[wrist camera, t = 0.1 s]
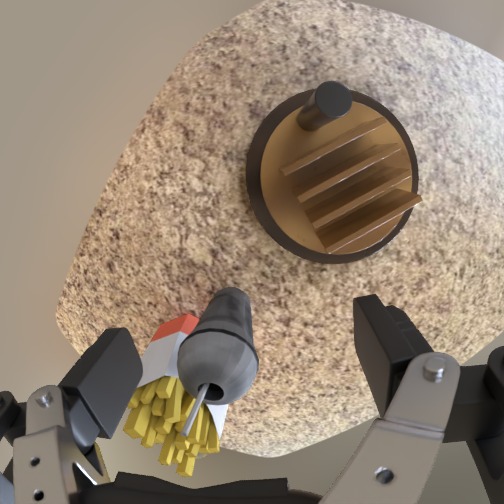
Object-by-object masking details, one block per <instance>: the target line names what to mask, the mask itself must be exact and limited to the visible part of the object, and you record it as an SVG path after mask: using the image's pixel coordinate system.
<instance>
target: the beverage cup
mask: <svg viewBox="0 0 504 504" xmlns="http://www.w3.org/2000/svg"><path fill="white" fill-rule="evenodd" d="M258 367H259V359H258V356H257V353H256V350H255V346H254V344H253V330H252V316H251V307H250V301H249V298H248V296H247V295H246V294H245V293H244V292H243V291H241V290H240V289H237V288H232V287H228V288H224V289H221V290H220V291H218V292H217V293H216V295H215V296H214V298H213V299H212V300H211V302H210V303H209V305H208V307H207V308H206V310H205V312H204V313H203V315H202V317H201V318H200V320H199V322H198V323H197V325H196V327H195V328H194V329H193V331H192V332H191V333H190V334H189V335H188V336H187V337H186V338H185V339H184V340H183V342H182V343H181V344H180V347H179V351H178V359H177V369H178V376H179V379H180V381H181V383H182V385H183V387H184V389H185V390H186V391H187V392H188V393H189V394H190V395H191V396H192V397H193V398H195V399H196V400H195V403H194V405H193V407H192V409H191V411H190V414H189V416H188V418H187V420H186V422H185V425H184V427H183V429H182V431H181V435H182V436H185V437H186V436H187V435H188V433H189V431H190V429H191V426H192V424H193V422H194V419H195V417H196V415H197V412H198V410H199V408H200V405H201V403H202V402H203V403H206V404H209V405H226V404H229V403H231V402H234V401H236V400H238V399H239V398H241V397H242V396H243V395H244V394H245V393H246V392H247V391H248V390H249V389H250V387H251V385H252V383H253V381H254V379H255V377H256V374H257V372H258Z"/></svg>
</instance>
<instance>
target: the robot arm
mask: <svg viewBox="0 0 504 504" xmlns="http://www.w3.org/2000/svg"><path fill="white" fill-rule="evenodd" d="M353 317H354V342H355V349H356V353H357V356H358V358H359V361H360V364H361V366H362V369H363V371H364V374H365V376H366V379H367V382H368V384H369V387H370V389H371V392H372V395H373V398H374V400H375V403H376V406H377V408H378V411H379V414H380V417H381V418H377V419H375V420H374V422H373V423H372V425H371V426H370V428H369V430H368V431H367V433H366V435H365V437H364V438H363V440H362V441H361V443H360V444H359V446H358V448H357V449H356V451H355V452H354V454H353V455H352V457H351V458H350V460H349V461H348V463H347V464H346V466H345V467H344V469H343V470H342V472H341V473H340V475H339V476H338V477H337V479H336V480H335V482H334V483H333V484H332V486H331V487H330V488H329V490H328V491H327V492H326V494H325V495H324V496H321V495H318V494H314V493H311V492H307V491H302V490H295V489H290V488H289V484H288V480H287V478H277V479H263V480H240V481H236V482H231V483H226V484H221V485H216V486H211V487H204V488H198V489H191V488H187V487H183V486H180V485H177V484H174V483H170V482H168V481H165V480H162V479H159V478H156V477H153V476H146V475H138V474H131V473H125V472H118V474H117V476H116V478H115V481H114V482H111V481H110V478H109V476H108V473H107V470H106V467H105V464H104V461H103V458H102V455H101V452H100V448H99V446H98V445H97V443H96V442H95V440H96V438H97V437H100V438H106V439H111V438H112V436H113V434H114V432H115V430H116V427H117V426H118V424H119V421H120V419H121V418H122V415H123V413H124V412H125V410H126V408H127V406H128V404H129V402H130V400H131V398H132V396H133V394H134V392H135V390H136V388H137V386H138V384H139V382H140V380H141V378H142V376H143V365H142V361H141V359H140V356H139V354H138V352H137V349H136V347H135V345H134V342H133V340H132V337H131V335H130V332H129V331H128V329H126V328H124V327H123V328H109V329H106V330H105V331H104V332H103V333H102V335H101V336H100V337H99V338H98V339H97V341H96V342H95V343H94V344H93V345H92V346H91V347H89V348H88V349H87V350H86V351H85V352H84V353H83V355H82V356H81V359H79V360H78V361H77V362H76V363H75V365H74V366H73V367H72V368H71V370H70V371H69V372H68V373H67V374H66V376H65V377H64V378H63V380H62V381H61V382H60V383H59V385H58V386H55V385H47V386H44V387H41V388H39V389H37V390H36V391H35V392H34V393H32V394H31V396H30V397H29V398H28V401H27V402H24V403H17V401H16V400H15V398H14V396H13V395H12V394H11V392H9V391H2V392H0V441H1V439H2V437H3V436H4V437H5V438H6V439H7V441H8V442H9V443H10V444H11V446H12V447H13V457H12V459H11V461H10V462H9V464H8V466H7V467H6V469H5V471H4V473H3V474H2V473H1V472H0V504H417V502H418V500H419V498H420V496H421V494H422V492H423V489H424V487H425V485H426V482H427V480H428V478H429V475H430V473H431V471H432V468H433V466H434V463H435V460H436V458H437V455H438V452H439V449H440V447H441V444H442V443H448V442H458V441H466V443H467V445H468V447H469V450H470V452H471V454H472V456H473V459H474V461H475V464H476V466H477V468H478V471H479V473H480V476H481V479H482V481H483V484H484V487H485V489H486V492H487V495H488V497H489V500H490V503H491V504H504V346H501V347H498V348H496V349H495V350H493V351H492V352H491V354H490V355H489V358H488V362H487V364H485V365H475V366H460V365H459V363H458V362H457V360H456V359H454V358H453V357H452V356H450V355H448V354H445V353H440V352H434V351H433V349H432V348H431V346H430V345H429V344H428V342H427V341H426V340H425V338H424V337H423V336H422V334H421V333H420V332H419V330H418V329H416V326H415V325H414V324H413V322H411V320H410V318H409V317H408V316H407V315H406V313H405V312H404V311H403V310H401V309H399V308H397V307H395V306H393V305H391V306H386V307H385V306H384V305H383V303H382V302H381V300H380V299H379V298H378V296H377V295H376V294H372V295H367V296H362V297H357V298H354V299H353Z"/></svg>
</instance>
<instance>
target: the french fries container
mask: <svg viewBox="0 0 504 504" xmlns="http://www.w3.org/2000/svg"><path fill="white" fill-rule="evenodd" d="M199 320H200V319H198V318H196V317H194V316H193V315H191V314H189V313H188V314H186V315H183V316H181V317H178V318H176V319H173V320H171V321H169V322H166V323H164V324H161V325H160V327H159V328H158V330H157V332H156V333H155V335H154V337H153V338H152V340H151V342H150V344H149V345H148V347H147V349H146V350H145V352H144V354H143V356H142V357H141V361H142V365H143V376H142V378H141V380H140V382H139V384H138V386H137V388H136V390H135V392H134V394H133V396H132V398H131V400H130V402H129V404H128V406H127V407H128V408H132V410H131V412H130V414H129V417H128V419H127V421H126V424H125V426H124V428H123V431H124V432H125V433H127V434H128V435H129V436H130V437H131V438H142V441H141V445H142V446H144V447H146V448H151V447H153V443H154V442H155V443H157V444H158V443H162V442H164V443H163V446H162V450H161V453H160V456H159V460H158V461H159V462H160V463H161V464H162V465H170V463H171V461H172V462H173V463H178V467H177V471H176V473H178V474H179V475H181V476H182V477H190V476H192V472H193V467H194V462H195V459H198V458H204V457H205V456H206V455H207V454H208V453H216V452H219V441H220V438H221V434H222V430H223V425H224V421H225V417H226V413H227V408H228V404H226V405H209V404H206V403H203V402H202V403H201V405H200V408H199V410H198V412H197V415H196V417H195V419H194V422H193V424H192V426H191V429H190V431H189V433H188V435H187V436H186V437H185V436H182V435H181V431H182V429H183V427H184V425H185V422H186V420H187V418H188V416H189V414H190V411H191V409H192V407H193V405H194V403H195V400H196V399H195V398H193V397H192V396H191V395H190V394H189V393H188V392H187V391H186V390H185V389H184V387H183V385H182V383H181V381H180V379H179V376H178V369H177V359H178V351H179V347H180V344H181V343H182V342H183V340H184V339H185V338H186V337H187V336H188V335H189V334H190V333H191V332H192V331H193V329H194V328H195V327H196V325H197V323H198V322H199Z"/></svg>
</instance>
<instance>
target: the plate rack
mask: <svg viewBox="0 0 504 504" xmlns="http://www.w3.org/2000/svg"><path fill="white" fill-rule="evenodd" d="M260 177H261V188H262V193H263V197H264V200H265V203H266V206H267V208H268V210H269V212H270V214H271V216H272V217H273V219H274V220H275V222H276V223H277V225H278V226H279V227H280V228H281V229H282V230H283V232H284V233H286V234H287V235H288V236H289V237H290V238H291V239H293V240H294V241H296V242H297V243H299V244H300V245H302V246H304V247H306V248H308V249H311V250H314V251H317V252H321V253H326V254H337V255H338V254H349V253H354V252H358V251H361V250H364V249H367V248H369V247H371V246H373V245H375V244H376V243H378V242H379V241H381V240H382V239H383V238H384V237H386V236H387V235H388V234H389V233H390V232H391V231H392V230H393V229H394V228H395V226H396V225H397V224H398V222H399V221H400V219H401V217H402V216H403V214H404V212H405V211H406V210H408V209H410V208H411V207H413V206H415V205H417V204H418V203H420V202H422V201H423V200H422V198H421V195H418V194H415V193H412V192H411V187H412V169H411V162H410V158H409V155H408V152H407V149H406V147H405V144H404V142H403V140H402V139H401V137H400V135H399V134H398V132H397V131H396V129H395V128H394V127H393V126H392V125H391V124H390V123H389V121H388V120H387V119H386V118H385V117H383V116H382V115H381V114H379V113H378V112H376V111H375V110H373V109H371V108H370V107H367V106H365V105H363V104H361V103H357V102H354V101H352V96H351V93H350V91H349V90H348V89H347V87H346V86H344V85H343V84H341V83H339V82H336V81H327V82H324V83H322V84H321V85H319V87H318V88H317V89H316V90H315V92H314V93H313V94H312V96H311V97H310V98H309V100H308V101H307V102H306V104H305V105H304V106H302V107H300V108H298V109H297V110H295V111H293V112H292V113H291V114H290V115H288V116H287V117H286V118H285V119H284V120H283V121H282V122H281V123H280V124H279V125H278V126H277V128H276V129H275V130H274V132H273V133H272V135H271V137H270V139H269V141H268V143H267V145H266V148H265V150H264V153H263V158H262V163H261V174H260Z"/></svg>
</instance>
